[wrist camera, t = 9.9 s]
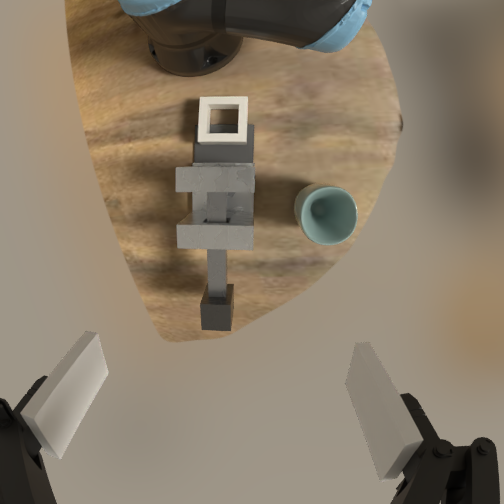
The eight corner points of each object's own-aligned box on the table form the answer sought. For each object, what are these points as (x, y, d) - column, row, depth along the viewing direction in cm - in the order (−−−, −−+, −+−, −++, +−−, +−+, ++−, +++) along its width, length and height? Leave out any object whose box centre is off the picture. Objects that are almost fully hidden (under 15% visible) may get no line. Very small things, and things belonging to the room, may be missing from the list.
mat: (195, 125, 42) (195, 125, 42) (254, 125, 43) (254, 124, 42) (194, 162, 44) (194, 162, 44) (253, 163, 44) (253, 163, 44)
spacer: (201, 144, 43) (203, 102, 41) (246, 144, 43) (247, 102, 41) (197, 141, 40) (200, 97, 38) (246, 141, 40) (247, 96, 39)
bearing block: (193, 162, 44) (175, 163, 33) (254, 163, 44) (255, 162, 34) (193, 231, 47) (177, 252, 37) (252, 233, 47) (252, 254, 37)
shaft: (206, 169, 40) (197, 170, 33) (234, 169, 40) (231, 170, 33) (208, 306, 46) (201, 329, 40) (233, 307, 46) (230, 331, 40)
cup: (291, 231, 47) (301, 248, 38) (288, 182, 45) (297, 187, 36) (338, 227, 47) (358, 243, 38) (336, 179, 45) (357, 184, 35)
